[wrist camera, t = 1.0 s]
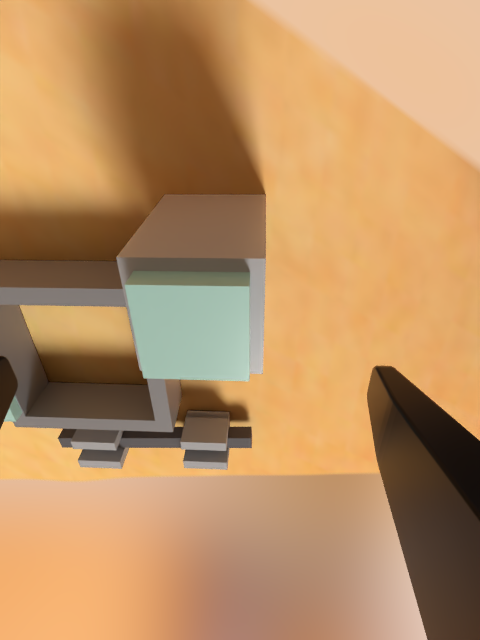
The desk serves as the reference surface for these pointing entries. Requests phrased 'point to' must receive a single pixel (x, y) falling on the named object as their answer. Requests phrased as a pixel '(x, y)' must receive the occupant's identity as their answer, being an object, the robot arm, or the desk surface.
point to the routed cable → (163, 442)
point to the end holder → (73, 398)
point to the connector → (198, 287)
